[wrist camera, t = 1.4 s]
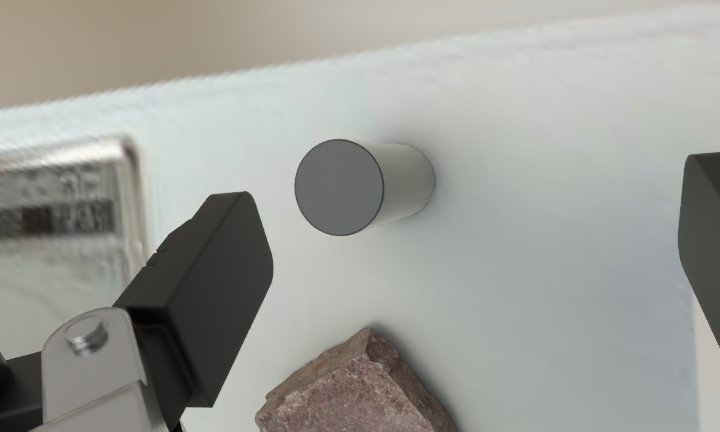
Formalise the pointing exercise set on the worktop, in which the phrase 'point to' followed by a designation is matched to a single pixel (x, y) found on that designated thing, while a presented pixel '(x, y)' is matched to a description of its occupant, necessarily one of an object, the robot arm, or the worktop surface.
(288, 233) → the worktop surface
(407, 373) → the stone
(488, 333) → the worktop surface
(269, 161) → the worktop surface
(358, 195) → the dark grey cylinder
